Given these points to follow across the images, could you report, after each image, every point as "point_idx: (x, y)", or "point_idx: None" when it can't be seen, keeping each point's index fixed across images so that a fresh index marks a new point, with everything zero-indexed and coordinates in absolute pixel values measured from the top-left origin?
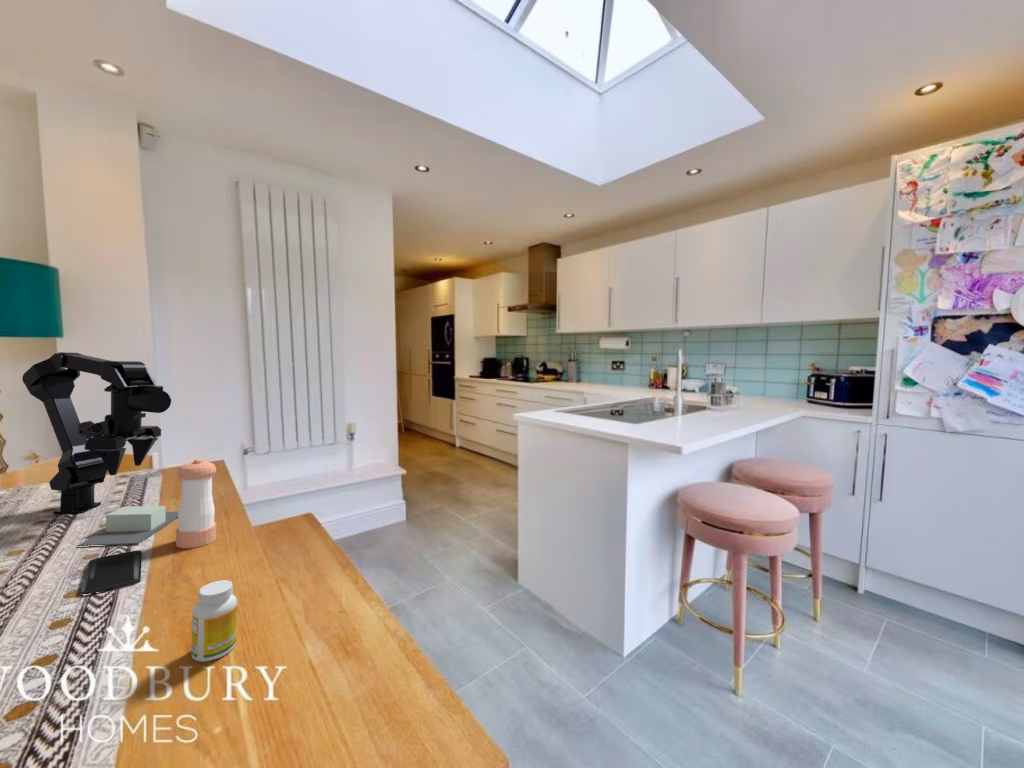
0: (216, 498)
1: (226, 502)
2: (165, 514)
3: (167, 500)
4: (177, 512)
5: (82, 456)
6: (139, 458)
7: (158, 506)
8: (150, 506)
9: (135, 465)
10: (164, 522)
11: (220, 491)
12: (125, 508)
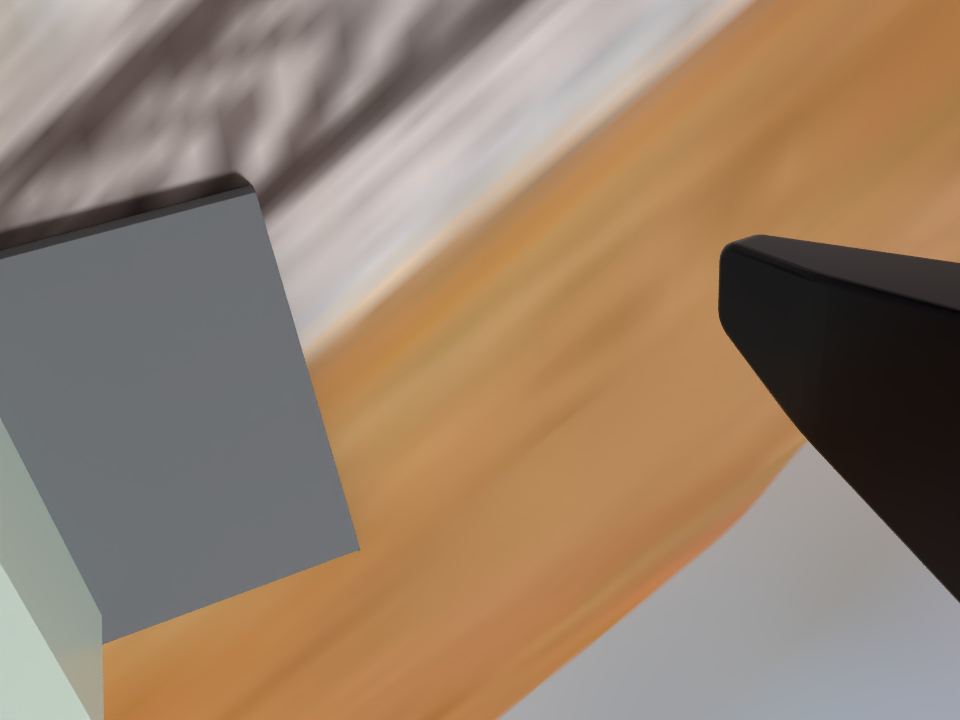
0: (700, 471)
1: (606, 594)
2: (101, 668)
3: (679, 132)
4: (322, 526)
5: None
6: (837, 410)
7: (67, 711)
8: (39, 658)
9: (724, 248)
10: None
11: None
12: None
